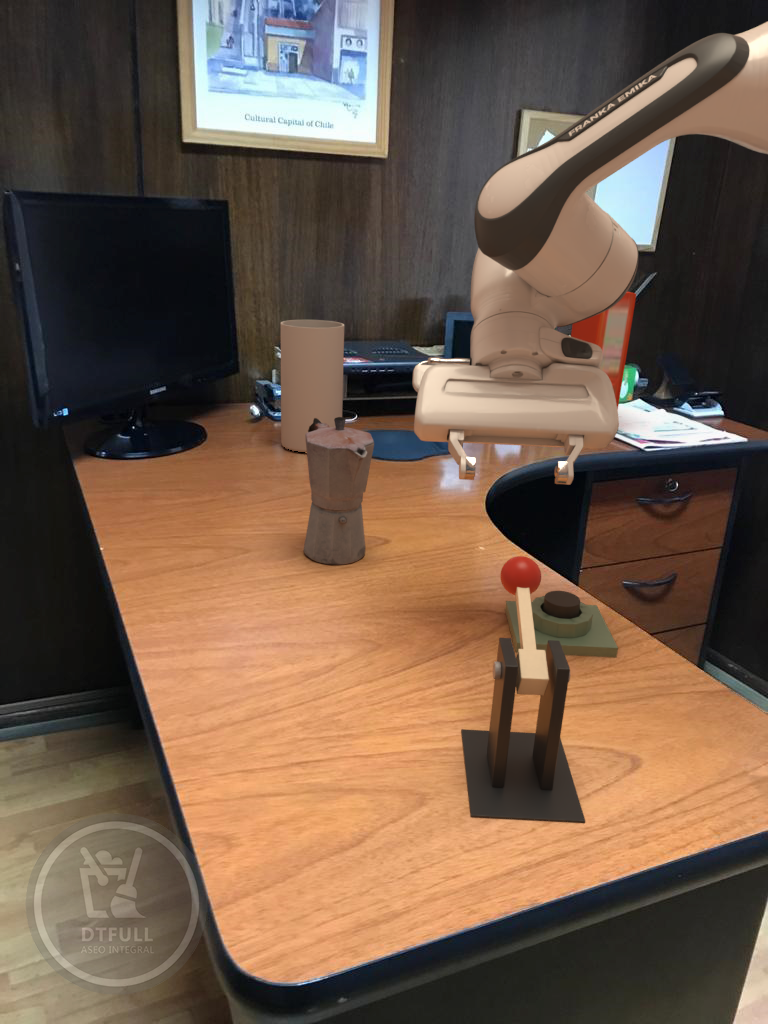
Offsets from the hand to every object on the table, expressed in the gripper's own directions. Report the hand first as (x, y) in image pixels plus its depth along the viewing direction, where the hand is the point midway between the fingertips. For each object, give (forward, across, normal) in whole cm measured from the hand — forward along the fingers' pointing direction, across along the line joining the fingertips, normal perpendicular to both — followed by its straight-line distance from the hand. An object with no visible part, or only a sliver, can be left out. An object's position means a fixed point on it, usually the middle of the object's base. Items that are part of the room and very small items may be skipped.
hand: (515, 479), depth 75 cm
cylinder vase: (-44, -29, +74) cm, 91 cm away
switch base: (+28, 0, +3) cm, 28 cm away
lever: (+16, 0, -2) cm, 16 cm away
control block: (+10, +8, +20) cm, 24 cm away
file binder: (-66, +35, +96) cm, 121 cm away
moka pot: (-5, -20, +36) cm, 42 cm away
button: (+8, +8, +18) cm, 21 cm away
